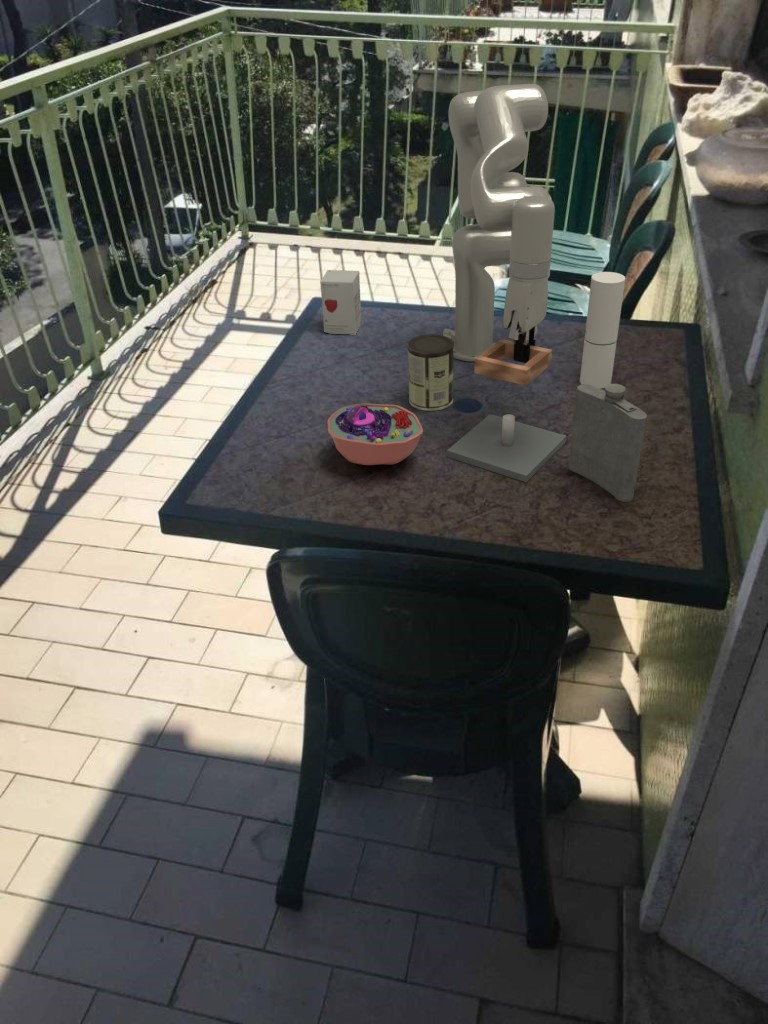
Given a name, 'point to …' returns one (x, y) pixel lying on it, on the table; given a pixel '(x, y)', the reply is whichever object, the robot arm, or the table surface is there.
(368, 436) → the cell model
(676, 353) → the table surface
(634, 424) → the hip flask
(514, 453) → the stand
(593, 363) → the cylindrical container
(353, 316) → the supplement box
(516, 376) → the ring
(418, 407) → the coffee can
